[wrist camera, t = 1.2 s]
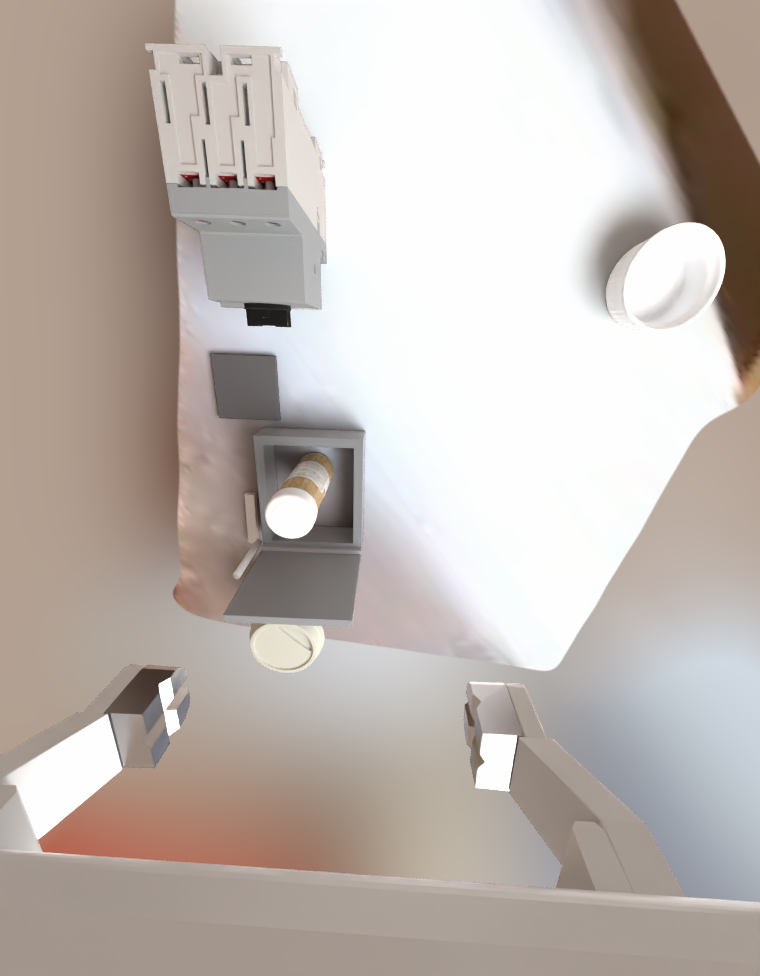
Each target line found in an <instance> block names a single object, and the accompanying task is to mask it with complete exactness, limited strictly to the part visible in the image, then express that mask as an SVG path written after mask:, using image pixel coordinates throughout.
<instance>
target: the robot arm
mask: <svg viewBox="0 0 760 976" xmlns="http://www.w3.org/2000/svg"><path fill="white" fill-rule="evenodd" d="M186 678H187V677H186V673H185V669H183V668H180V667H168V666H155V665H137V664H130V665H128V666H126V667H125V668H124V669H123V670H122V671H121V672H120V673H119V674H118V675H117V676H116V677H115V678H114V680H113V681H112V682H111V683H110V684H109V685H108V686H107V687H106V688H105V689H104V690H103V691H102V692H101V693H100V694H99V696H98V697H97V698H96V699H95V700H94V701H93V702H92V703H91V704H90V705H89V706H88V707H87V709H86V710H85V711H84V712H80V713H79V712H77V713H75V714H73V715H71V716H70V717H68V718H66V719H64V720H62V721H61V722H59V723H57V724H55V725H53V726H52V727H50V728H48V729H46V730H45V731H43V732H41V733H39V734H37V735H35V736H34V737H32V738H30V739H28V740H26V741H25V742H23V743H21V744H19V745H17V746H16V747H14V748H12V749H10V750H8V751H7V752H5V753H3V754H1V755H0V976H760V902H750V901H736V900H721V899H707V898H693V897H686V896H685V894H684V893H683V891H682V889H681V887H680V885H679V884H678V882H677V880H676V878H675V876H674V875H673V873H672V871H671V869H670V867H669V865H668V864H667V862H666V860H665V858H664V856H663V854H662V853H661V851H660V849H659V847H658V845H657V844H656V842H655V840H654V838H653V836H652V835H651V833H650V831H649V829H648V827H647V826H646V824H645V823H644V822H643V821H642V820H641V819H640V818H639V817H638V816H636V815H635V814H634V813H633V812H632V811H631V810H630V809H629V808H628V807H627V806H625V805H624V804H623V803H622V802H621V801H620V800H619V799H618V798H617V797H616V796H615V795H614V794H612V793H611V792H610V791H609V790H608V789H607V788H606V787H605V786H604V785H603V784H601V783H600V782H599V781H598V780H597V779H596V778H595V777H594V776H593V775H592V774H591V773H589V772H588V771H587V770H586V769H585V768H584V767H583V766H582V765H581V764H580V763H579V762H577V761H576V760H575V759H574V758H573V757H572V756H571V755H570V754H569V753H567V751H565V750H564V749H563V748H562V747H561V746H560V745H559V744H558V743H557V742H556V741H555V740H553V739H550V738H546V735H545V733H544V730H543V728H542V726H541V723H540V721H539V718H538V716H537V714H536V711H535V709H534V707H533V704H532V702H531V700H530V697H529V695H528V692H527V690H526V687H525V686H524V685H523V684H515V683H504V684H503V683H490V682H489V683H487V682H468V684H467V691H466V694H467V699H468V702H467V703H466V704H465V708H464V729H465V737H466V742H467V745H468V746H469V747H470V748H471V756H470V763H471V768H472V774H473V779H474V784H475V787H476V788H484V789H496V790H506V791H509V793H510V795H511V796H512V798H513V799H514V800H515V802H516V803H517V804H518V806H519V807H520V809H521V810H522V811H523V813H524V814H525V815H526V817H527V818H528V820H529V821H530V822H531V824H532V825H533V826H534V828H535V829H536V831H537V832H538V833H539V835H540V836H541V837H542V839H543V840H544V841H545V843H546V844H547V846H548V847H549V848H550V849H551V851H552V852H553V854H554V855H555V857H556V858H557V859H558V861H559V862H560V863H561V865H562V867H561V872H560V875H559V879H558V882H557V886H556V888H548V887H533V886H520V885H506V884H491V883H477V882H463V881H462V882H461V881H448V880H433V879H419V878H405V877H391V876H376V875H362V874H345V873H332V872H318V871H304V870H290V869H274V868H260V867H245V866H232V865H217V864H203V863H188V862H174V861H160V860H145V859H130V858H117V857H103V856H88V855H73V854H60V853H44V852H42V849H41V847H40V844H39V842H38V839H39V838H41V837H42V836H43V835H44V834H45V833H47V832H48V831H49V830H50V829H51V828H53V826H55V825H56V824H57V823H59V822H60V821H61V820H62V819H63V818H65V817H66V816H67V815H68V814H69V813H70V812H72V811H73V810H74V809H75V808H77V807H78V806H79V805H80V804H81V803H82V802H84V801H85V800H86V799H87V798H89V796H91V795H92V794H93V793H95V792H96V791H97V790H98V789H99V788H101V787H102V786H103V785H104V784H105V783H107V782H108V781H109V780H110V779H111V778H113V777H114V776H115V775H116V774H117V773H118V772H120V771H121V770H122V767H128V768H129V767H130V768H155V767H156V765H157V764H158V762H159V760H160V759H161V757H162V755H163V754H164V752H165V751H166V749H167V747H168V746H169V744H170V739H169V735H170V734H171V733H173V732H174V731H176V730H177V729H178V728H180V726H181V724H182V723H183V721H184V719H185V717H186V714H187V711H188V708H189V703H190V695H189V690H188V689H187V688H186V687H185V686H184V685H183V683H184V681H185V680H186Z"/></svg>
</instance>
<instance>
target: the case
mask: <svg viewBox="0 0 760 976" xmlns="http://www.w3.org/2000/svg"><path fill="white" fill-rule="evenodd" d="M253 443H254V453H255V463H256V473H257V483H258V493H259V503H260V513H261V524H262V534H263V545H262V547H261V548H262V551H261V552H260V554H259V556H258V557H257V559H256V561H255V562H254V564H253V566H252V567H251V569H250V571H249V572H248V574H247V576H246V577H245V579H244V581H243V582H242V584H241V586H240V588H239V589H238V591H237V593H236V594H235V596H234V598H233V599H232V601H231V603H230V604H229V606H228V608H227V609H226V611H225V613H224V614H223V619H224V622H238V623H261V624H284V625H307V626H330V627H352V625H353V617H354V609H355V602H356V594H357V586H358V578H359V570H360V562H361V549H362V542H363V529H364V477H365V431H350V430H324V429H299V428H273V427H264V428H262V429H261V430H260V431H258V432H257V433H255V434H254V435H253ZM274 445H282V446H308V447H333V448H354V505H353V528H348V527H323V526H313V527H312V529H311V530H310V531H309V532H308V533H307V534H306V535H304V536H302V537H299V538H293V539H290V538H284V537H281V536H279V535H277V534H276V533H274V532H273V531H272V530H271V529H270V528H269V526H268V524H267V522H266V519H265V509H266V506H267V504H268V502H269V501H270V499H271V498H272V496H273V495H274V494H275V493H276V492H277V491H278V489H277V476H276V463H275V450H274ZM261 543H262V541H261V540H260V539H256V540H255V542H254V543H253V545H252V546H251V548H250V549H249V551H248V552H247V554H246V555H245V557H244V558H243V560H242V561H241V563H240V564H239V566H238V567H237V569H236V570H235V572H234V573H233V578H234V579H239V578H240V577H241V575H242V574H243V572H244V571H245V569H246V567H247V566H248V564H249V562H250V561H251V559H252V558H253V556H254V554H255V553H256V551H257V550H258V548H259V546H260V545H261Z"/></svg>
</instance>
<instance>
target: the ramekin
mask: <svg viewBox="0 0 760 976" xmlns="http://www.w3.org/2000/svg"><path fill="white" fill-rule="evenodd" d="M724 272H725V252H724V248H723V245H722V242H721V240H720V238H719V237H718V235H717V234H716V233H715V232H714V231H713V230H712V229H710V228H709V227H707V226H705V225H703V224H700V223H694V222H685V223H678V224H675V225H672V226H669V227H667V228H665V229H663V230H661V231H659V232H658V233H656V234H654V235H653V236H652V237H650V238H649V239H647V240H645V241H643V242H641V243H639V244H638V245H636V246H635V247H633V248H632V249H630V250H629V251H628V252H627V253H625V255H624V256H623V257H622V258H621V259H620V260H619V261H618V262H617V264H616V265H615V267H614V268H613V270H612V272H611V274H610V277H609V280H608V283H607V287H606V303H607V307H608V311H609V313H610V315H611V316H612V318H613V319H614V320H615V321H616V322H617V323H619V324H620V325H622V326H624V327H627V328H631V329H638V330H643V331H646V332H650V333H668V332H673V331H675V330H678V329H680V328H683V327H684V326H686V325H688V324H690V323H691V322H693V321H694V320H695V319H696V318H698V317H699V316H700V315H701V314H702V313H703V312H704V311H705V310H706V309H707V308H708V306H709V305H710V304H711V302H712V301H713V300H714V298H715V296H716V295H717V293H718V291H719V289H720V286H721V283H722V281H723V277H724Z"/></svg>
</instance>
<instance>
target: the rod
mask: <svg viewBox="0 0 760 976" xmlns="http://www.w3.org/2000/svg"><path fill="white" fill-rule="evenodd" d="M244 496H245V509H246V521H247V534H248V543H254V542H255V540H256V539H259V527H258V512H257V497H256V492H246V493H245V494H244Z"/></svg>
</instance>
